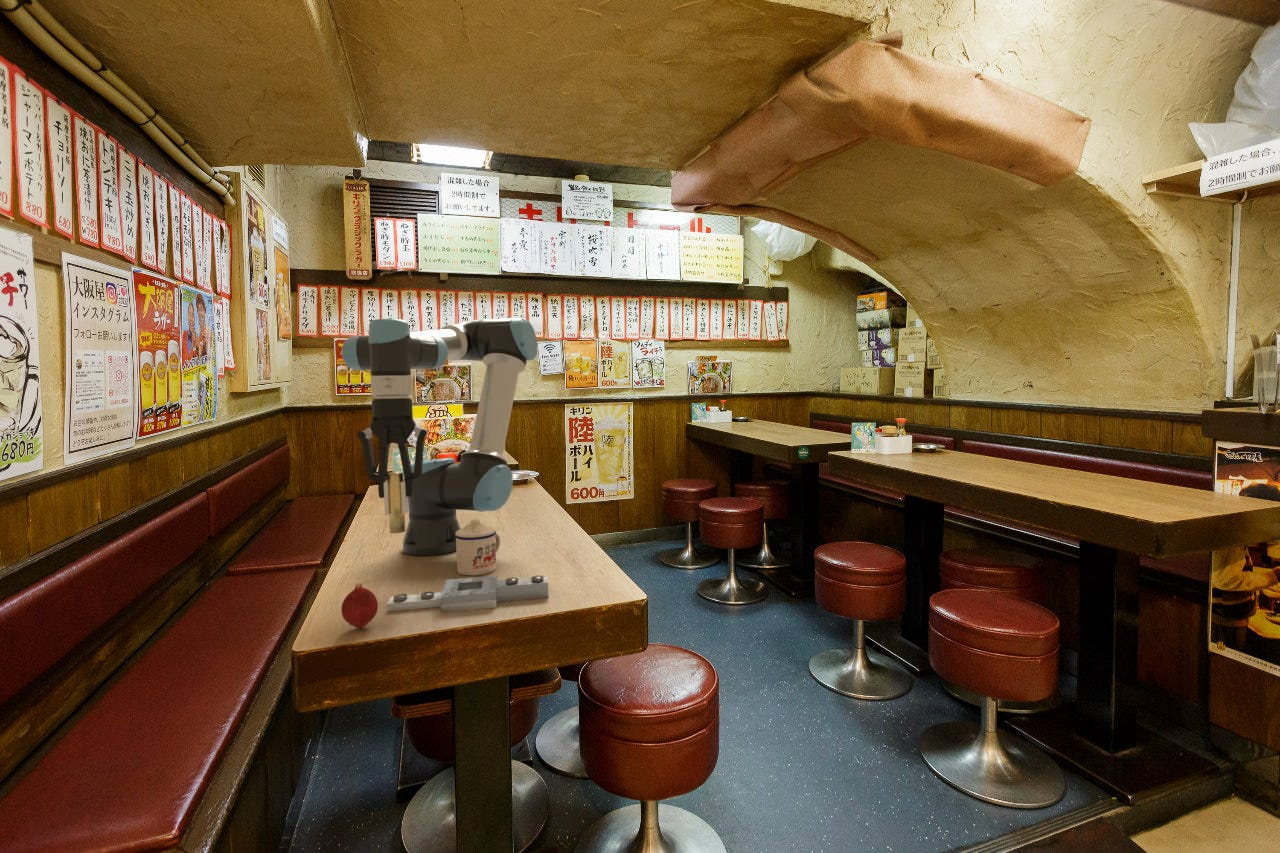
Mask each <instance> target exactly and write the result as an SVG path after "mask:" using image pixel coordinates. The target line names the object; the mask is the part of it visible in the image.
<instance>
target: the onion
mask: <svg viewBox="0 0 1280 853" xmlns="http://www.w3.org/2000/svg"><path fill="white" fill-rule="evenodd" d="M377 599H378V598H377V596H376V595H375V594H374V593H373V592H372V591H371V590H369V589H368V588H365V587H364V586H363V584H362V583H361V582H357V583H356V584H355V587H354V589H353V590H351V591H350V592H349V593H348V594H347V595H346V596H345V598H344V599H343V601H342V604H341V615H342V618H343V619H344V621H345V622H346V623H347V624H348V625H350V626H352V627H355V628H357V629H363V628H365V627H366V626H367V625H368V624H369V623H370V622H371V621H372V620H373V619H374V618H375V617H376V615H377V613H378V609H379V602H378V600H377Z"/></svg>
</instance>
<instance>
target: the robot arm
mask: <svg viewBox="0 0 1280 853" xmlns="http://www.w3.org/2000/svg"><path fill="white" fill-rule="evenodd" d="M537 353H538V340H537V336H536V331H535V329H534V327H533V325H532V324H531V322H530V321H529V320H528V319H527V318H524V317H513V316H512V317H509V318H489V319H485V318H484V319H483V318H482V319H475V320H469V321H465V322H461V323H454V324H447V325H444V326H442V327H441V328H440V329H433V330H422V331H419V330H418V331H411V330H410V325H409V322H408V321H406V320H404V319H398V318H397V319H396V318H379V319H373V320H371V321H369V325H368V335H357V336H351V337H348V338H347V339H346V340H345V341H344V342H343V344H342V347H341V356H342V361H343V362H344V364H345V365H346V366H347V367H348V368H350V369H351V370H354V371H364V372H365V371H370V391H371V392H370V394H371V396H373V397H374V398H373V399H372V400H371V413H372V414H371V415H372V420H371V423H370V425H369V427H368V428H366V429H364V430H361V431H358V432H357V437H358V439H359V441H360V442H361V445H362V452H363V457H364V458H363V459H364V463H365V464H364V465H365V469H366V475H367V478H368V480H373V481H375V482H377V484H378V488H377V489H378V497H379V498H380V499H383V500H384V515H385V516H387V515H388V516H389V491H388V482H387V473H388V464H389V455H390V448H391V444H396V445H397V447H398V451H399V455H400V461H401V467H402V472H403V481H402V482H401V500H402V514H405V515H406V514H408V524H407V527H406V529H405V533H404V537H403V540H402V552H403V553H404V554H406V555H411V556H419V557H420V556H422V557H423V556H437V555H443V554H448V553H452V552H455V551H456V537H455V533H456V531H458V530H459V529H462V527H461V525H460V523H459V520H458V516H457V511H459V510H460V511H474V512H475V511H477V512H480V513H482V512H494V511H498V510H500V509H502V507H503V506H505V504H507V502H508V500H510V499H509V498H510V496H511V494H512V490H513V484H514V481H513V480H514V479H513V472H512V470H511V469H510V467H509V466H508V461H507V459H506V458H505V456H504V450H505V445H506V440H507V435H508V431H509V425H510V419H511V416H512V415H511V414H512V410H513V404H514V398H515V394H516V389H517V384H518V378H519V374H521V373H523V372H524V371H525V369H526V366H527V361H528V362H529V361H532V360H534V359H536V357H537ZM448 360H449V361H454V362H455V361H458V360H459V361H460V360H461V361H475V362H483V364H484V366H485V367H486V370H485V374H484V379H483V384H482V388H481V393H480V397H479V402H478V405H477V406H478V407H477V412H476V416H475V421H474V426H473V429H472V435H471V440H470V443H469V449H468V450H465V452H463V453H462V454H461V457H460V461H459V463H456V461H455V459H454V458H453V457H444V458H437V459H436V458H435V459H431V460H430V459H429V460H425V461H424V451H425V450H424V449H425V440H426V438H427V436H428V434H429V430H428V429H427V428H422V427H419V426H417V424H416V422H415V420H414V416H413V415H414V414H413V400H412V398H410V396H411V395H413V387H412V372H411V371H412V370H437V369H439V368H441V367H442V366H444V365H445V363H446V362H447V361H448ZM413 432H414V437H415V438H416V442H415V454H414V463H412V464H411V459H410V454H409V452H410V451H409V447H408V446H409V445H408V439H409V438H410V436H411V435H412V433H413ZM373 434H374V436H376V438H377V439H378V440H379V441H380V442H379V459H378V468H376V467H377V466H376V460H375V454H374V450H373V449H374V448H373V443H372V440H371V439H372V438H373ZM377 469H378V470H377ZM377 471H378V472H377Z"/></svg>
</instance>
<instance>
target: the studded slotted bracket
mask: <svg viewBox="0 0 1280 853" xmlns="http://www.w3.org/2000/svg"><path fill="white" fill-rule="evenodd" d="M544 598H545V599H546V598H547V599H548V598H549V581H548V576H546V575H545V576H543V575H533V576H531V577H524V578H518V577H515V576H513V577H508V578H506V579H500V580H498V575H491V576H489V575H488V576H478V577H477V576H476V577H465V578H455V579H454V578H451V579H449V578H448V579H446V580H445V583H444V586H443V589H442V591H440V592H434V591H424V592H422V593H418V594H417V593H416V594H407V593H399V594H395V595H394V596H390V598H389V600H388V602H387V603H386V606H387V607H386V609H387V610H386V611H387V612H396V611H397V612H398V611H409V610H421V609H433V607H434V608H440V610H441V611H440V613H441V612H442V613H450V612H451V613H452V612H462V611H474V610H486V609H495V608H497V604H498V603H500V602H512V601H522V600H523V601H524V600H533V599H534V600H535V599H544Z"/></svg>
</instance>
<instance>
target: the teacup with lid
mask: <svg viewBox="0 0 1280 853" xmlns="http://www.w3.org/2000/svg"><path fill="white" fill-rule="evenodd" d="M480 522H481V521H480V520H479V518H478V519H476V518H474V519H471V521H470V524H467V525H466V526H464V527H461V529H459V530H458V531H456V533H455V537H456V568H457V569H456V571H457V573H458V574H460V575H463V576H469V577H470V576H481V575H482V576H483V575H486V574H490V573H491V572H493V571H495V570H496V569H497V555H496V553H497V552H498V551H499V549H500V546H501V536H500V535H499V534H498V533H497V531H496V529H495V528H494V527H493V526H487V525H486V524H484V523H480Z"/></svg>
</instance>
